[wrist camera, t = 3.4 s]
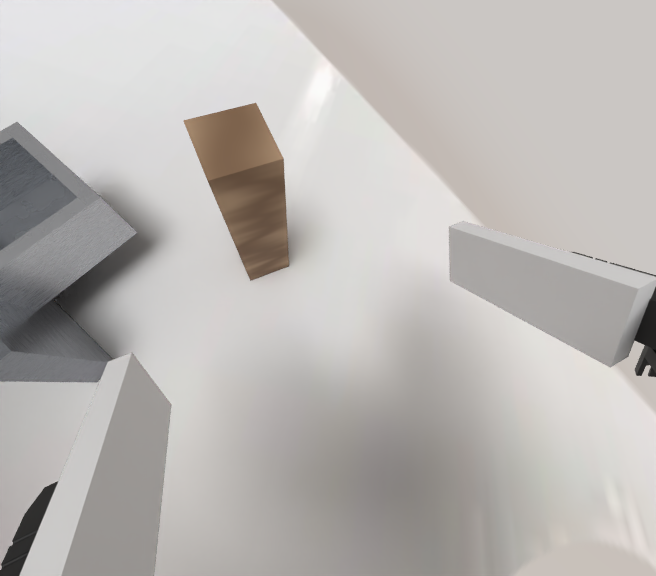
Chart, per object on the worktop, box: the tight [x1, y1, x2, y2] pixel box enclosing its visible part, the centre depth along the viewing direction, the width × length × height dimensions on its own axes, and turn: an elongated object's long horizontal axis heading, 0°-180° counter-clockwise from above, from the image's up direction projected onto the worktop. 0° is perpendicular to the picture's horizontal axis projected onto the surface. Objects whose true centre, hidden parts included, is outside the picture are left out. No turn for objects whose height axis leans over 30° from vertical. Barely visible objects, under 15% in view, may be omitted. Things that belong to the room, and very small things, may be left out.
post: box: [184, 103, 289, 281], centre depth 23 cm, size 4×4×15 cm
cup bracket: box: [0, 122, 137, 382], centre depth 23 cm, size 20×11×10 cm, turn 50°
